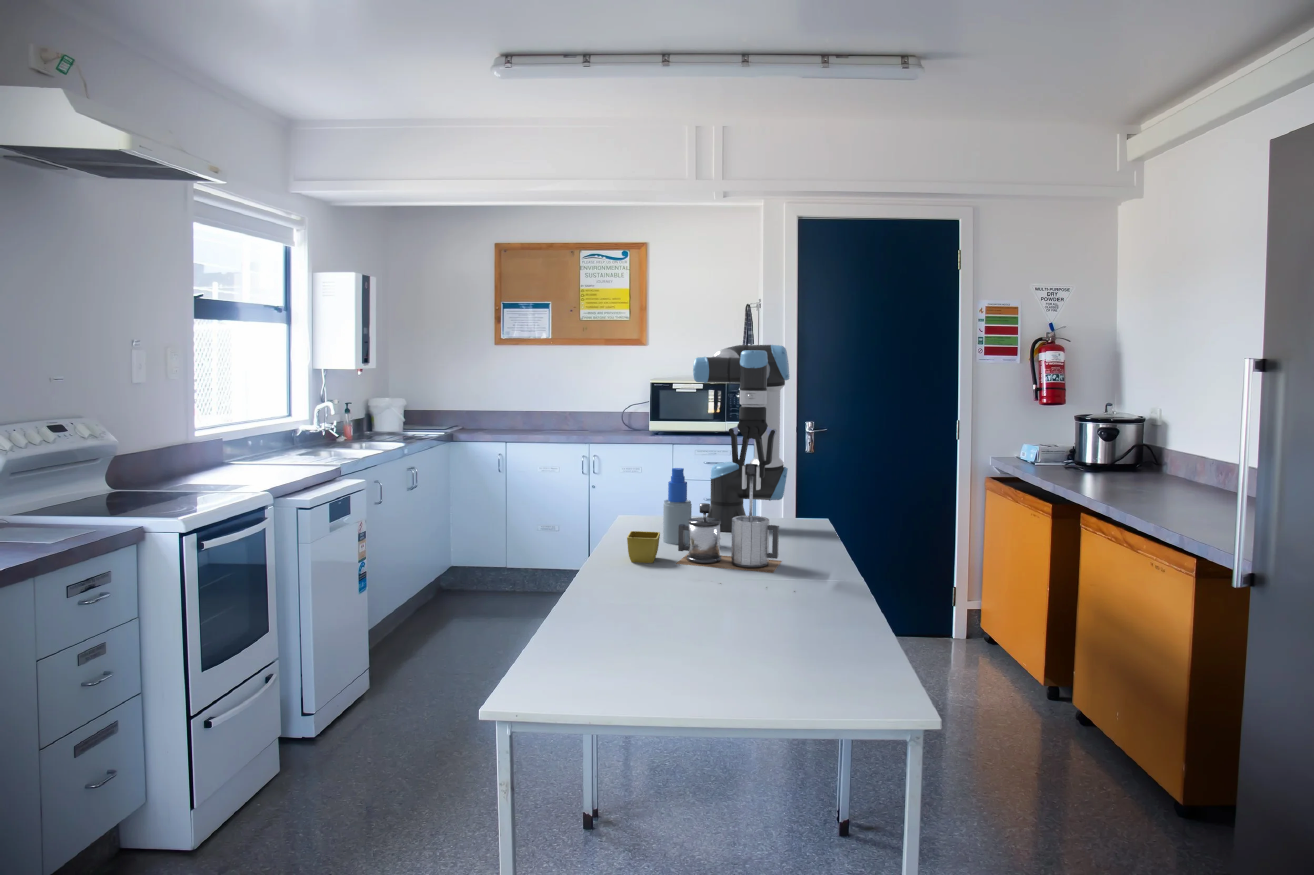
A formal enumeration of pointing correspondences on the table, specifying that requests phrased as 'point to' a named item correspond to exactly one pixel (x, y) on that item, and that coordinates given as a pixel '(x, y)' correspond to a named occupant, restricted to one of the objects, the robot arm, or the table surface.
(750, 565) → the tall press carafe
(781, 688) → the table surface
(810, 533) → the table surface
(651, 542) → the flower pot
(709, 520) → the short press
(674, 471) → the spray bottle
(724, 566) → the serving board
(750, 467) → the plunger
